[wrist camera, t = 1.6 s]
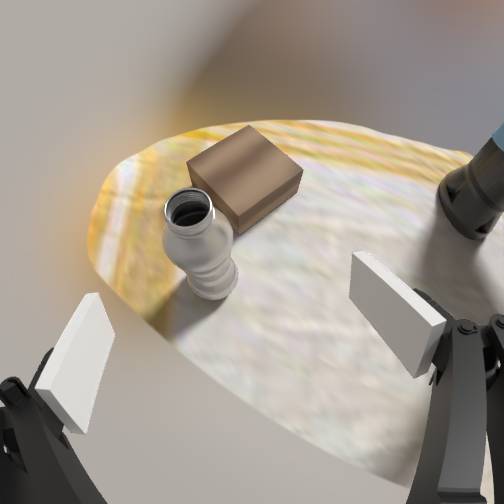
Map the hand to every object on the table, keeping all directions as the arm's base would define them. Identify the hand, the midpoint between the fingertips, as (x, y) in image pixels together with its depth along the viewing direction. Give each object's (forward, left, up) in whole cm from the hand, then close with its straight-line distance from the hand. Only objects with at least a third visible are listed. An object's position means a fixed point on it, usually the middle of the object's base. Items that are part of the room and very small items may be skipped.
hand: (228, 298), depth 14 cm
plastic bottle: (+8, -2, -25) cm, 26 cm away
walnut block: (+17, -15, -24) cm, 34 cm away
